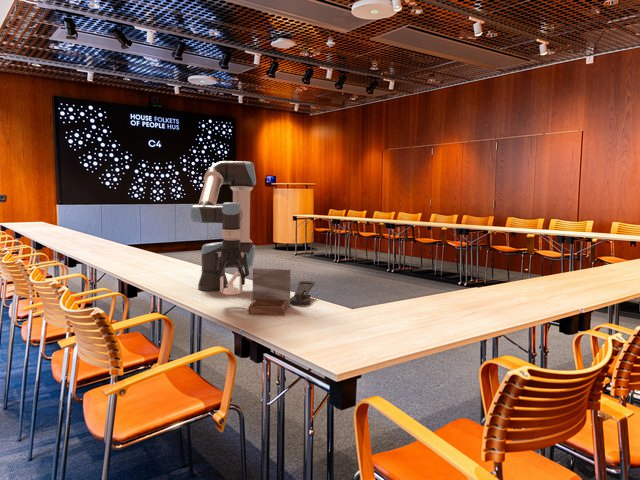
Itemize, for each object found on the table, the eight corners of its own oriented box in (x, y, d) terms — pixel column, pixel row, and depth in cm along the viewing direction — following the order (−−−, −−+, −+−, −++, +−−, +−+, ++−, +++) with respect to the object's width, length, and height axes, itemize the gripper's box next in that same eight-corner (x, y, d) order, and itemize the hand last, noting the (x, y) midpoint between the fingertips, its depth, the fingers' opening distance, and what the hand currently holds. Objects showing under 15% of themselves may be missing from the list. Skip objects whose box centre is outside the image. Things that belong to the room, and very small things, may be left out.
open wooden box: (253, 304, 208) (253, 268, 207) (290, 305, 208) (290, 269, 206) (245, 314, 192) (246, 274, 190) (285, 315, 191) (286, 275, 190)
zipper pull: (316, 281, 232) (308, 291, 207) (316, 294, 233) (308, 306, 208) (298, 280, 233) (288, 290, 208) (297, 294, 234) (288, 305, 209)
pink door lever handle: (250, 283, 201) (236, 274, 199) (233, 304, 203) (219, 295, 201) (250, 275, 208) (237, 267, 206) (235, 296, 210) (221, 288, 208)
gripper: (204, 239, 199) (205, 293, 202) (253, 240, 198) (253, 294, 201) (209, 237, 207) (210, 289, 209) (256, 238, 206) (256, 290, 208)
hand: (231, 291), depth 205 cm, fingers closed on pink door lever handle, 8 cm apart
